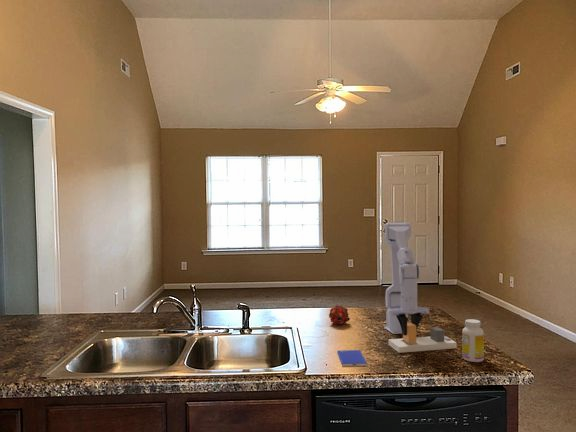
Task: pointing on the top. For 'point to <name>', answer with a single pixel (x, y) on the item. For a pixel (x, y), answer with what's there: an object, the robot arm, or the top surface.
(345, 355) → the hard drive
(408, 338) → the orange rectangular block
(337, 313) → the dragon fruit
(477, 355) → the supplement bottle
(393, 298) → the robot arm
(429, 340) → the white insertion base
